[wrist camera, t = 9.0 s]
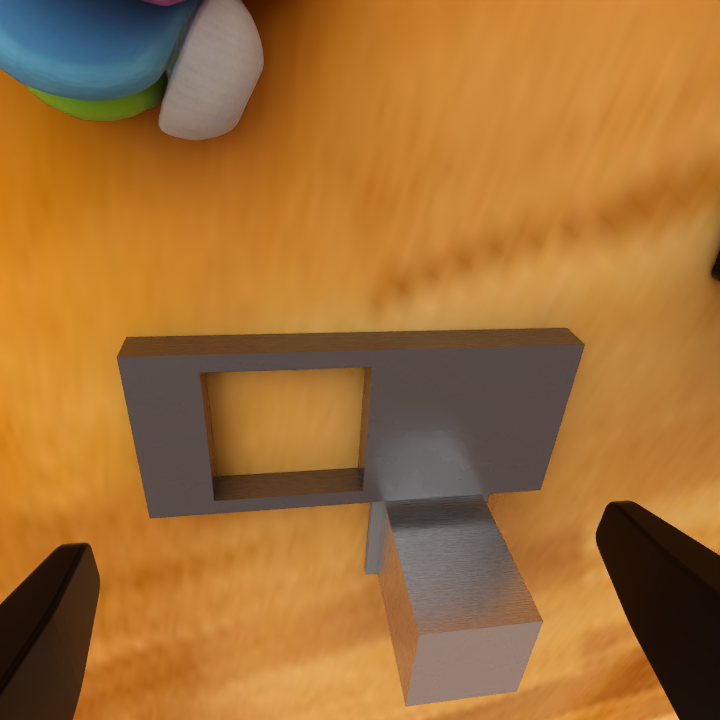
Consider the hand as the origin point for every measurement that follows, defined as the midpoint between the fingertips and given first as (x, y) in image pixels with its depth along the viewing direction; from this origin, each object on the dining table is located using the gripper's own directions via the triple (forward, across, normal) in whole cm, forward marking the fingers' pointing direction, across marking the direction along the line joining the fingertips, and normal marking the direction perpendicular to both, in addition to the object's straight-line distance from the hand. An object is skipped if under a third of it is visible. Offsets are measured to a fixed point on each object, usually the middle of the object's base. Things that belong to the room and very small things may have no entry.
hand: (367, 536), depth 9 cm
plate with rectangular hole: (+12, -2, +6) cm, 14 cm away
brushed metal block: (+12, -6, +14) cm, 19 cm away
